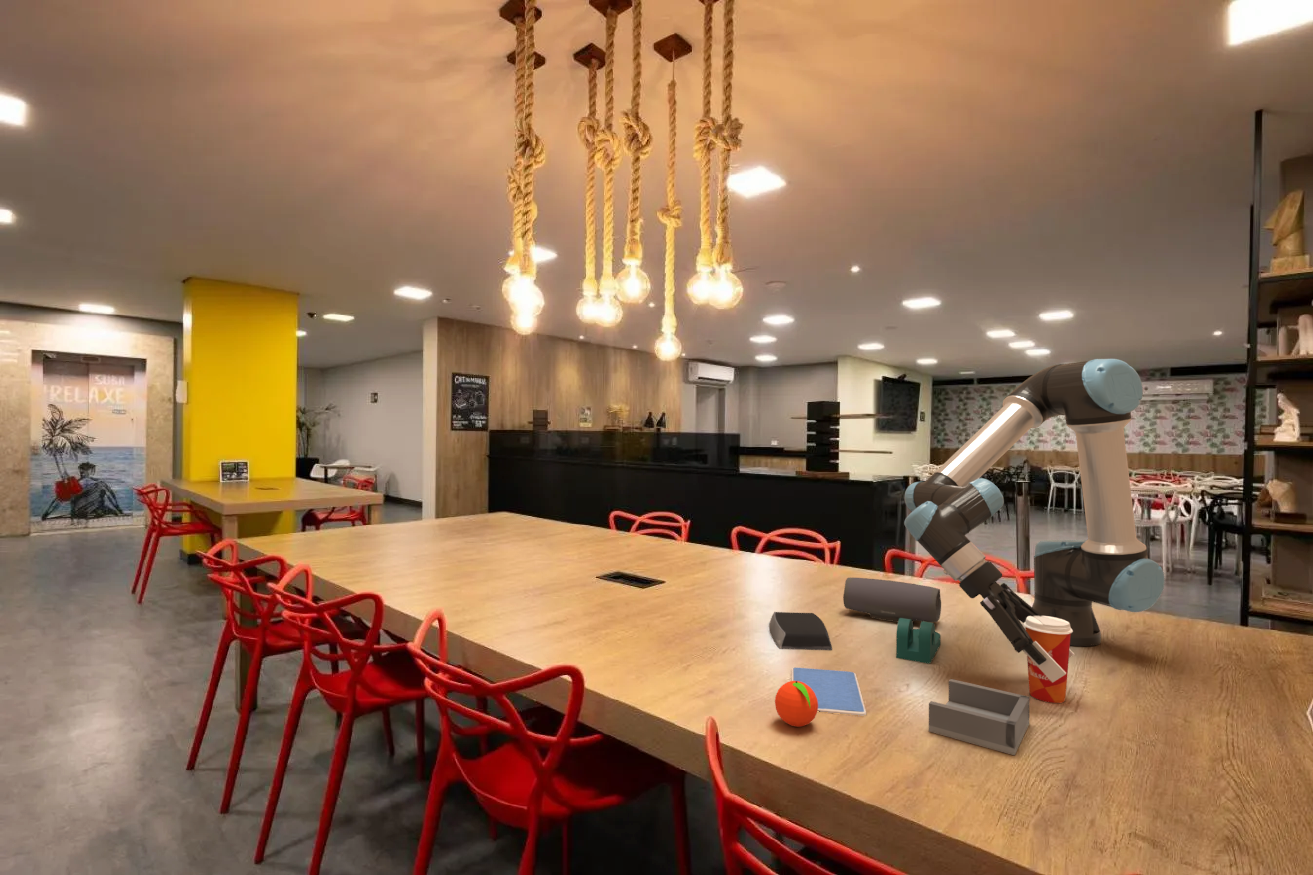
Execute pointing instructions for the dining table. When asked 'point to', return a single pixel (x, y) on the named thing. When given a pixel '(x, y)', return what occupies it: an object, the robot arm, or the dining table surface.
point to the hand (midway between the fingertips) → (1064, 667)
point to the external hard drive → (799, 631)
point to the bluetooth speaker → (892, 599)
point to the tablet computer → (833, 690)
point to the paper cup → (1056, 643)
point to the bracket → (916, 641)
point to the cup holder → (981, 716)
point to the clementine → (796, 703)
